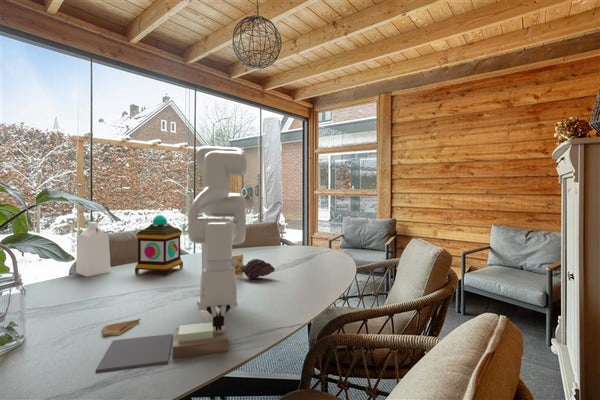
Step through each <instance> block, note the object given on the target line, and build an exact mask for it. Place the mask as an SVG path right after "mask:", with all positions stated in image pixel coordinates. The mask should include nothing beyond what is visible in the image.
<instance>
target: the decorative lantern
mask: <svg viewBox="0 0 600 400" xmlns="http://www.w3.org/2000/svg"><path fill="white" fill-rule="evenodd" d="M182 234H183V231H182V230H181V229H179V227H175V226H172V225H171V224H170V223H168V220H167V218H166V217H165V216H164V215H161V214H159V215H158V214H157V215H156V216H155V217H154V218H153V220H152V223H151V224H149V226H147V227H146V228H145V229H141V230H139V231H137V233H135V236H136V238H137V264H136V265H135V268H134V273H135V275H139V273H140V270H142V271H162V272H163V274H164V276H165V277H167V276H168V273H169V272H168V271H170V270H171V269H174V268H176V267H178V266H179V269H181V270H182V269H183V268H184V262H183V260H182V258H181V236H182Z"/></svg>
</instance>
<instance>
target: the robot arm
mask: <svg viewBox="0 0 600 400" xmlns="http://www.w3.org/2000/svg"><path fill="white" fill-rule="evenodd" d="M195 155H196V164H197V166H198V170H199V172H200V174H201V177H202V181H203V182H202V183H203V190H202V191H200V193H198V195H196V197H195V198H194V199H193V201H192V203H191V204H190V207H189V211H188V221H187V233H188V235H187V236H188V239H189V241H190V242H191V243H193V244H197V245H198V244H199V245H200V244H201V276H200V282H199V283H200V284H199V285H200V286H199V297H198V298H197V304H199V305H198V310H199V311H201V310H203V311H208V312H209V313H210V314H211V315H212V316H213V323H212V325H213V327H215V329H216V331H218V327H219V330H222V326H224V323H225V316H226V313H227V312H229V311H230V309H234V308H237V307H238V301H237V300H238V299H237V297H238V290H237V289H238V287H237V277H236V271H235V267H234V266H236V265H238V260H237V259H234V258H233V245H241V244H244V242H245V239H246V236H247V235H246V234H247V233H246V232H247V231H246V230H247V228H246V226H247V225H246V220H247V219H246V213H247V211H246V202H245V201H246V200H245V197H244V196H243V195H242V194H241V193H239V192H231V183H230V182H231V180H230V179H231V178H230V176H232V177H233V176H234V177H235V176H236V177H237V176H238V177H239V176H244V175H245V174H246V172H247V167H248V162H247V161H248V160H247V157H246V153H245V152H244V151H243V149H242V148H240V147H232V146H231V147H229V146H213V145H211V146H209V145H208V146H201V147H199V148H198V149H197V150H196V153H195ZM202 209H203V212H204V214H205V215H206V216H207V217H209V218H199V217H198V216H199V213H200V211H201V210H202ZM231 218H233V219H234V220H233V219H231ZM215 306H217V307H220V308H219V309H220V312H219V314H217V311H216V307H215Z"/></svg>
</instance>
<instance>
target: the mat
mask: <svg viewBox="0 0 600 400" xmlns="http://www.w3.org/2000/svg"><path fill="white" fill-rule="evenodd" d="M173 340H174V333H168V334H159V335H158V334H156V335H149V336H148V335H147V336H141V337H139V336H138V337H131V338H129V337H128V338H121V339H114V340H113V339H112V342H111V343H110V345H109V346H108V348H107V350H106V352H105V353H104V355H103V357H102V359H101V360H100V362H99V363H98V364H97V365H98V366H96V368H95V373H101V372H107V371H115V370H124V369H131V368H139V367H147V366H148V367H149V366H155V365H154V364H156V365H162V364H161V363H164V364H168V363H169V359H170V354H169V353H171V348H172V344H173ZM171 343H172V344H171Z"/></svg>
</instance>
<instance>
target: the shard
mask: <svg viewBox="0 0 600 400" xmlns="http://www.w3.org/2000/svg"><path fill="white" fill-rule="evenodd" d="M140 321H141V318H139V319H133V320H127V321H122V322H117V323H110V324H107V325H104V326H103V327H102V333H103V337H106V336H120V335H122V334H123V333H124V332H126V331H127V330H130V329H131V328H133V327H135V326H137V325H138V324H139V323H140Z"/></svg>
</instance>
